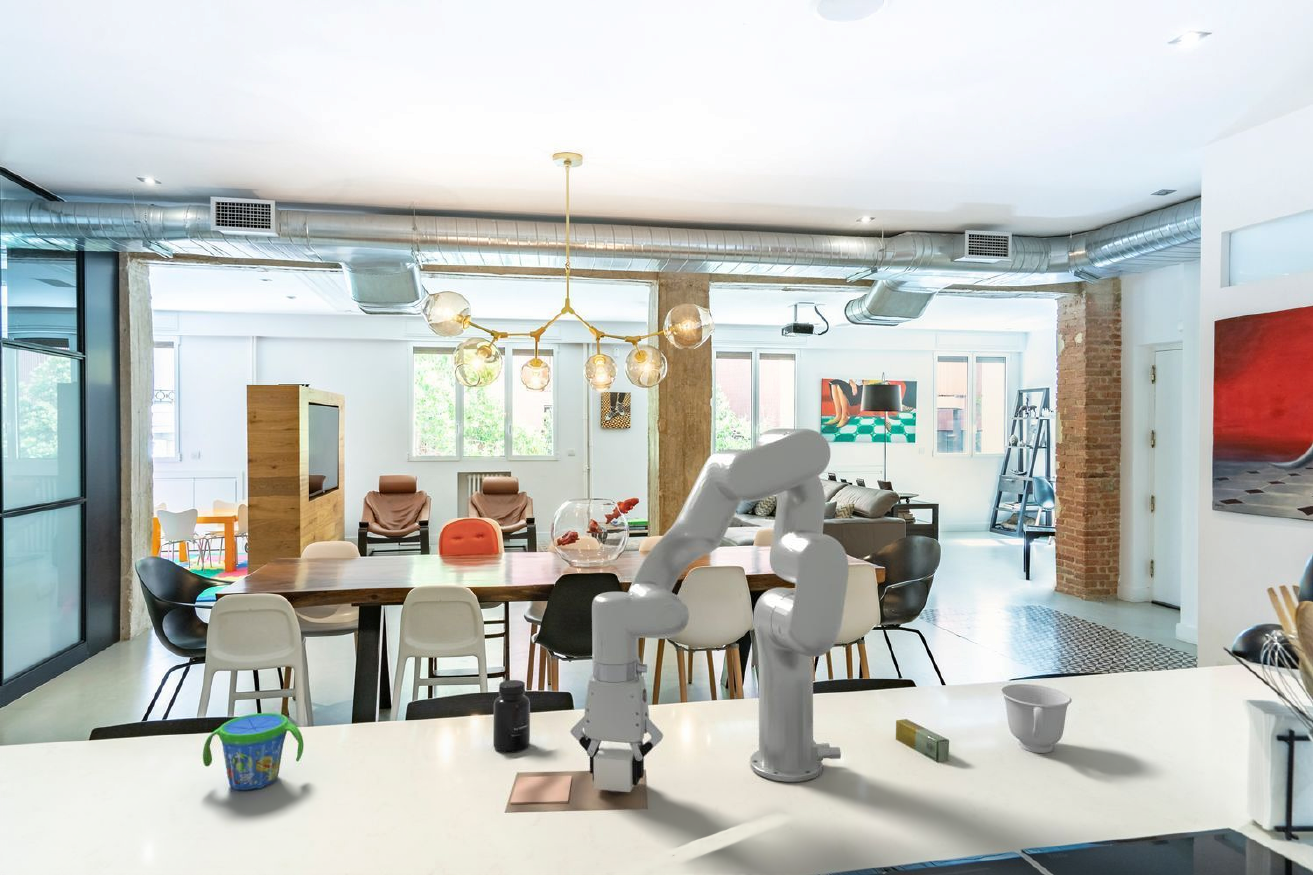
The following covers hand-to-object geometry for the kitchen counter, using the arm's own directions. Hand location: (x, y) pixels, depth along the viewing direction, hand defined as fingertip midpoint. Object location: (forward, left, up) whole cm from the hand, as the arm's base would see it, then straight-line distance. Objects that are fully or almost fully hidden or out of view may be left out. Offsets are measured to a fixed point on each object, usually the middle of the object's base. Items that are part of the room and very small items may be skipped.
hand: (616, 778), depth 128 cm
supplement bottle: (+20, -22, -3) cm, 30 cm away
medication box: (-57, -16, -4) cm, 59 cm away
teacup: (-78, -15, -3) cm, 79 cm away
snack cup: (+62, -9, -3) cm, 63 cm away
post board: (+6, 0, -3) cm, 7 cm away
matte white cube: (0, 0, -1) cm, 1 cm away
